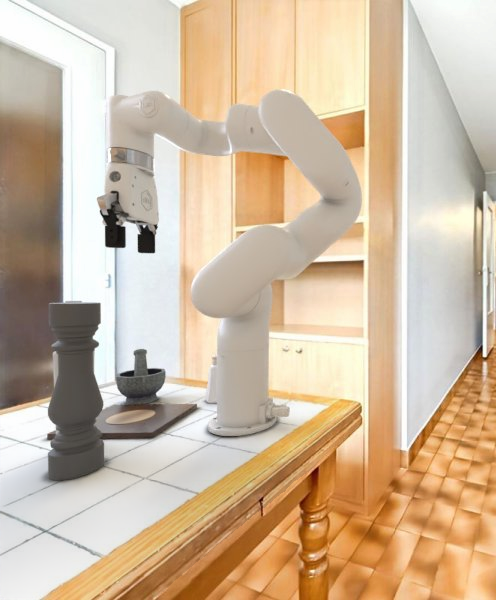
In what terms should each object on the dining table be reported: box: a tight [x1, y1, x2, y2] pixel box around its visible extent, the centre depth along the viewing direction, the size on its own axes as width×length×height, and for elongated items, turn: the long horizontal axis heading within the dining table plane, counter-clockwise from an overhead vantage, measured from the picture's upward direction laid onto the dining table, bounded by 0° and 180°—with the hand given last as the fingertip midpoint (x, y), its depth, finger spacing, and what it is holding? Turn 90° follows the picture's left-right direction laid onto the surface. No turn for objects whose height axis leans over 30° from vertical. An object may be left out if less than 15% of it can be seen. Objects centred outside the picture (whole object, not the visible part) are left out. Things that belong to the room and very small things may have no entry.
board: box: [46, 403, 198, 440], centre depth 71 cm, size 18×16×1 cm
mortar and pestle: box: [115, 348, 167, 404], centre depth 84 cm, size 11×9×12 cm
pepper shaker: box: [205, 354, 217, 404], centre depth 85 cm, size 5×5×11 cm
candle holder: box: [47, 301, 105, 481], centre depth 52 cm, size 6×6×25 cm
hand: (132, 250), depth 70 cm, fingers open, 9 cm apart
